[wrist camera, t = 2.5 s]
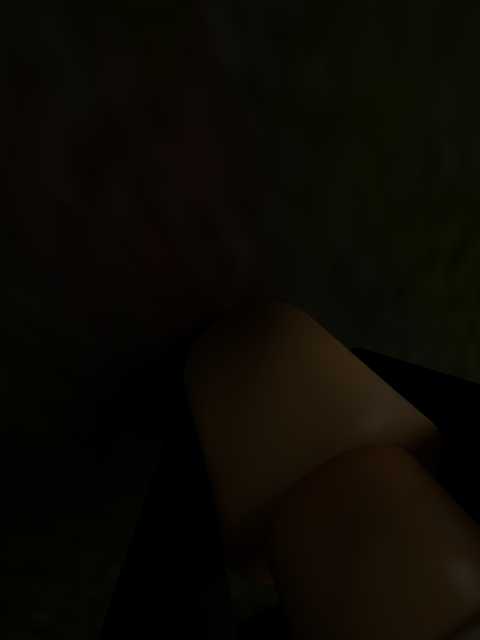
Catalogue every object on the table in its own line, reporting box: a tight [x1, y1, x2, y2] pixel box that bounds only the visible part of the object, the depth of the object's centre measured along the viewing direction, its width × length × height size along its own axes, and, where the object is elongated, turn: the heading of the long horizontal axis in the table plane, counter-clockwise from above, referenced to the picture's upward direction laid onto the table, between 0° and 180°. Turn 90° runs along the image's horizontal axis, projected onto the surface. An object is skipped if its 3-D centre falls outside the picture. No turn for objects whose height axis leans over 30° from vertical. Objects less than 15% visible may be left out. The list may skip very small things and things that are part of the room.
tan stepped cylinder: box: [183, 301, 480, 640], centre depth 7 cm, size 4×4×6 cm
